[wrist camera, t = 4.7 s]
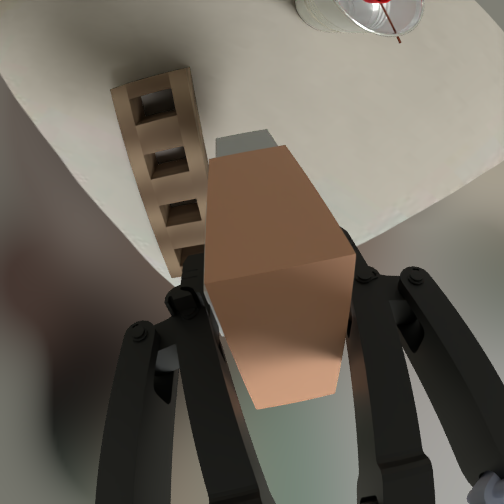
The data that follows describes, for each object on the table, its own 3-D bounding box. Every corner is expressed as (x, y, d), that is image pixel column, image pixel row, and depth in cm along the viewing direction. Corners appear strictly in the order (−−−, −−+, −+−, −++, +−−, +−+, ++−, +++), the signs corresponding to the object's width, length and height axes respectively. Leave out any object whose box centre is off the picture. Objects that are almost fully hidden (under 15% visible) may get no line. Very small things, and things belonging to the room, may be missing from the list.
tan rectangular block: (210, 136, 16) (204, 283, 6) (270, 125, 16) (355, 253, 6) (236, 244, 21) (256, 409, 11) (284, 235, 21) (334, 393, 11)
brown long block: (123, 84, 25) (110, 89, 22) (189, 67, 25) (185, 68, 22) (174, 256, 40) (171, 278, 37) (226, 247, 40) (227, 268, 37)
